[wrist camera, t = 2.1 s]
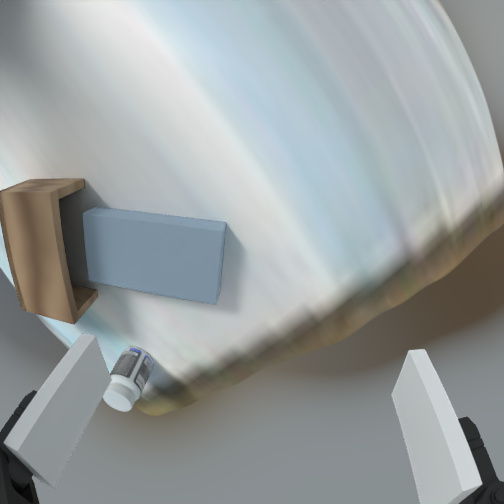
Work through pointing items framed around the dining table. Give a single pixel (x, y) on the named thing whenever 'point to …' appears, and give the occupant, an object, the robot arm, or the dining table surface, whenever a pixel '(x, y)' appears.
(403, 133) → the dining table surface
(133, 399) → the pill bottle
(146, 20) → the dining table surface
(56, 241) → the shelf
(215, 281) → the panel
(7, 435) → the robot arm
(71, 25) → the dining table surface
